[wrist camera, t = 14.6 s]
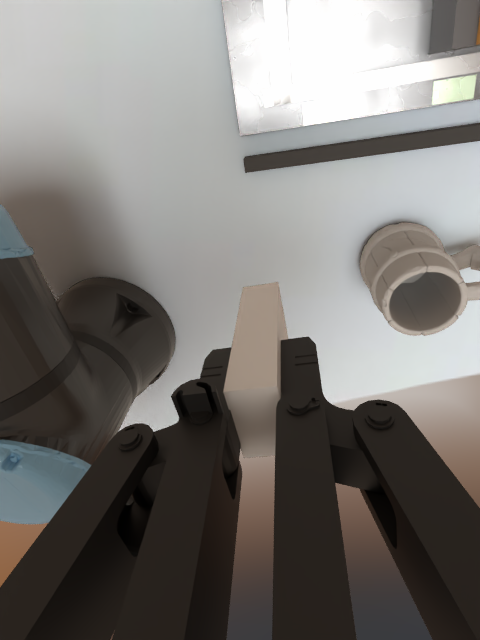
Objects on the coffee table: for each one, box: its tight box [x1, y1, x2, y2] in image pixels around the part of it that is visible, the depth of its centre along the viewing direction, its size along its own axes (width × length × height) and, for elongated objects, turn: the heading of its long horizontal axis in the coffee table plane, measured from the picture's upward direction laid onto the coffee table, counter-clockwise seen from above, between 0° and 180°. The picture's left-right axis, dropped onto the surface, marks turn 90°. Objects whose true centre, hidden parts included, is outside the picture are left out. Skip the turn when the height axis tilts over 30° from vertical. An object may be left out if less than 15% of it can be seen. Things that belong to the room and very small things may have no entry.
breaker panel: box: [222, 0, 480, 136], centre depth 28 cm, size 24×12×3 cm, turn 99°
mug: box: [360, 222, 480, 336], centre depth 33 cm, size 8×12×12 cm, turn 103°
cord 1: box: [244, 123, 480, 173], centre depth 33 cm, size 24×1×1 cm, turn 99°
